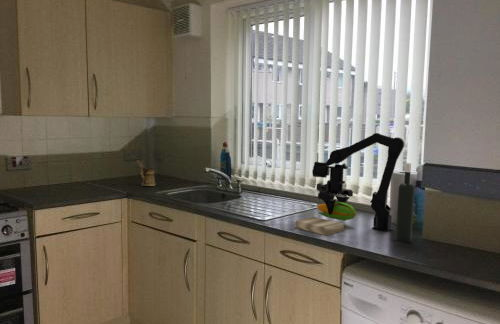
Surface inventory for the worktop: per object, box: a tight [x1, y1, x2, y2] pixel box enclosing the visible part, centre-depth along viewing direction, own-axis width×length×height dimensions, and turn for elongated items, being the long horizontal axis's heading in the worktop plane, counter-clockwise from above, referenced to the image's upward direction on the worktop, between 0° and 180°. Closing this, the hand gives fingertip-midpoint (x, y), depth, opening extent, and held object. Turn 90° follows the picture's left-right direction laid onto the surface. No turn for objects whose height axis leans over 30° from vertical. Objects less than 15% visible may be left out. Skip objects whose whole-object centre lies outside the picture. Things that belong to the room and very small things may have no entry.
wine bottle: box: [395, 162, 415, 243], centre depth 169 cm, size 6×6×30 cm
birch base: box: [294, 216, 345, 236], centre depth 184 cm, size 16×12×3 cm
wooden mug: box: [136, 159, 157, 187], centre depth 283 cm, size 9×14×18 cm, turn 141°
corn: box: [316, 201, 357, 222], centre depth 194 cm, size 7×8×20 cm
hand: (334, 213), depth 194 cm, fingers closed on corn, 7 cm apart
